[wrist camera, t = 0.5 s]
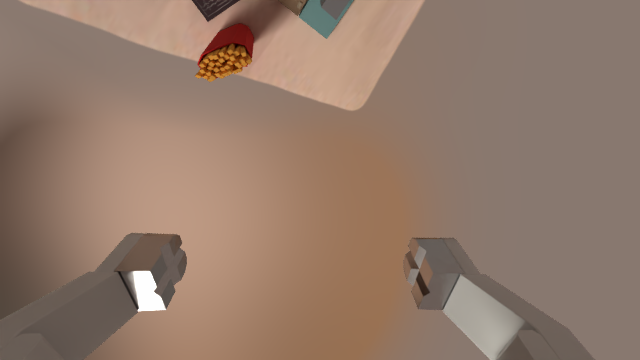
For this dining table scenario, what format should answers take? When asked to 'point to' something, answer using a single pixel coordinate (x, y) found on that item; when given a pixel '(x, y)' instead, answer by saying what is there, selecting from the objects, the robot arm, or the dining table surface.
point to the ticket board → (294, 5)
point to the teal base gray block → (324, 14)
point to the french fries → (227, 53)
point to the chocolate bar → (213, 7)
